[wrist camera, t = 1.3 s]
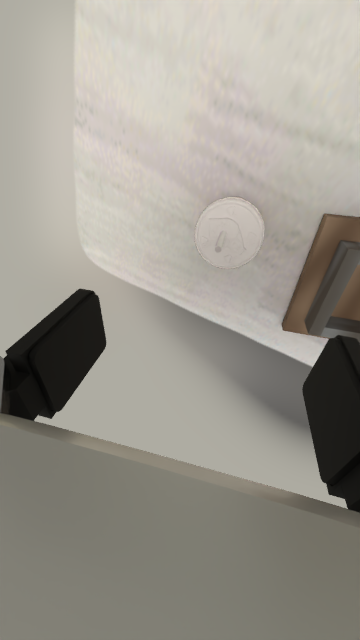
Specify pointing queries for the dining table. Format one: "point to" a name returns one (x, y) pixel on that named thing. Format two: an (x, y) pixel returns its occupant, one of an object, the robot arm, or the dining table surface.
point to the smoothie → (229, 233)
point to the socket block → (329, 283)
